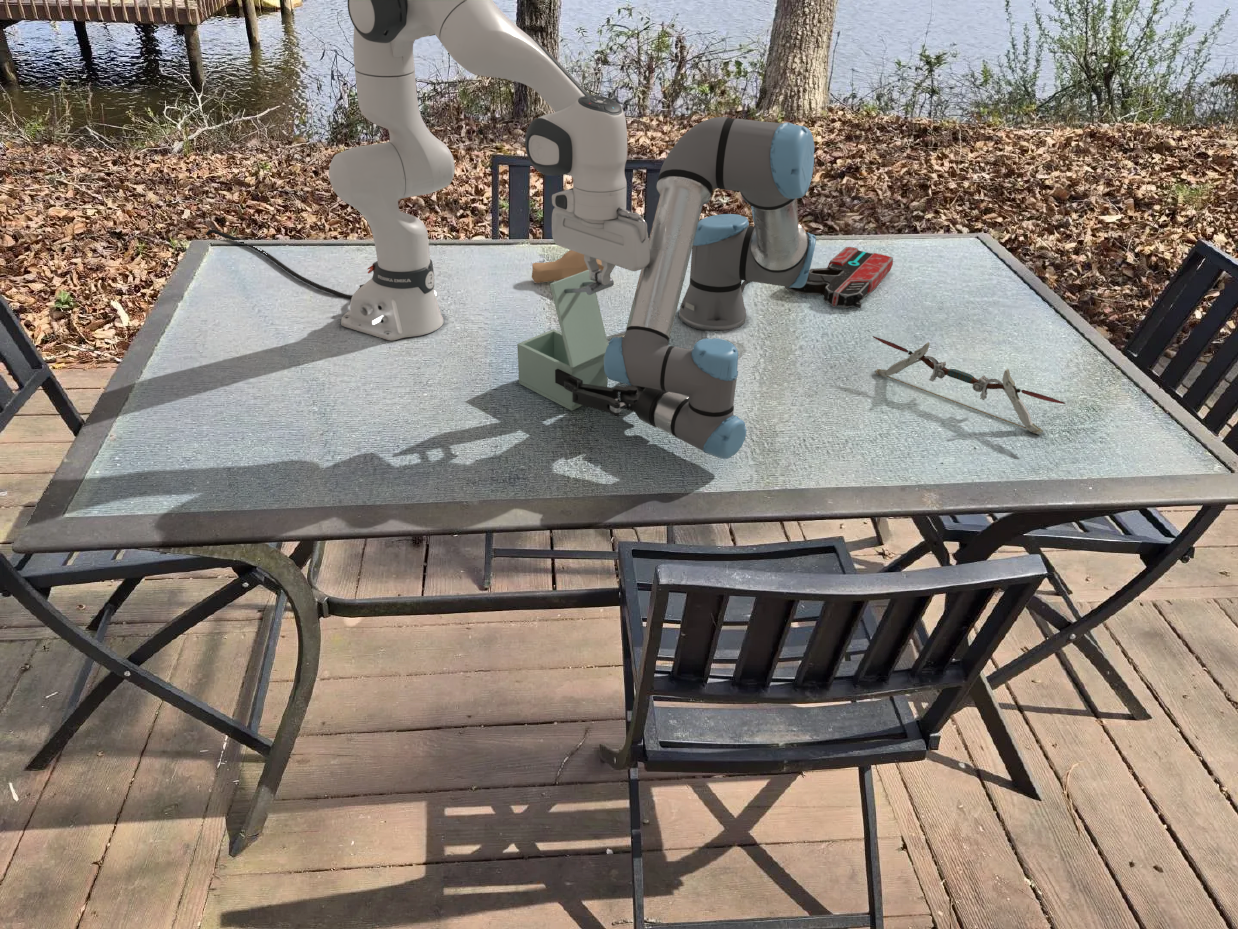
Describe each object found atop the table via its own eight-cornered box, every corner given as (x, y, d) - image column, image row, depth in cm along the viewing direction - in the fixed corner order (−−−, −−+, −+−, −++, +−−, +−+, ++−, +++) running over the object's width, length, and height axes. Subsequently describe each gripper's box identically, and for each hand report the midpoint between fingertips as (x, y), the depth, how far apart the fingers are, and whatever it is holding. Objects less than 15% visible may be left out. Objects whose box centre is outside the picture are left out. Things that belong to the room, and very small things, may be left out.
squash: (613, 292, 213) (609, 260, 207) (532, 299, 215) (526, 267, 209) (614, 269, 221) (610, 237, 215) (536, 276, 223) (529, 244, 217)
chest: (518, 383, 174) (517, 343, 169) (554, 367, 180) (553, 328, 175) (571, 411, 165) (571, 369, 161) (607, 393, 171) (608, 353, 167)
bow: (1055, 436, 162) (1072, 389, 156) (1051, 440, 160) (1068, 392, 155) (868, 367, 183) (877, 323, 177) (863, 370, 182) (872, 326, 176)
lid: (549, 283, 155) (580, 281, 149) (587, 269, 161) (619, 266, 155) (570, 367, 161) (600, 368, 155) (606, 350, 167) (637, 351, 161)
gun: (782, 277, 212) (859, 296, 204) (826, 238, 234) (898, 255, 226) (779, 294, 214) (856, 314, 207) (823, 255, 236) (894, 271, 229)
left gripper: (659, 211, 142) (656, 292, 149) (571, 186, 153) (572, 262, 161) (633, 220, 138) (631, 302, 145) (544, 193, 149) (547, 271, 157)
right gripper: (622, 450, 150) (533, 404, 162) (703, 404, 163) (615, 365, 176) (623, 412, 146) (532, 368, 158) (706, 369, 159) (616, 331, 172)
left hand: (599, 281), depth 153 cm, fingers closed, pressing on lid
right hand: (576, 366), depth 167 cm, fingers closed on chest, 10 cm apart
